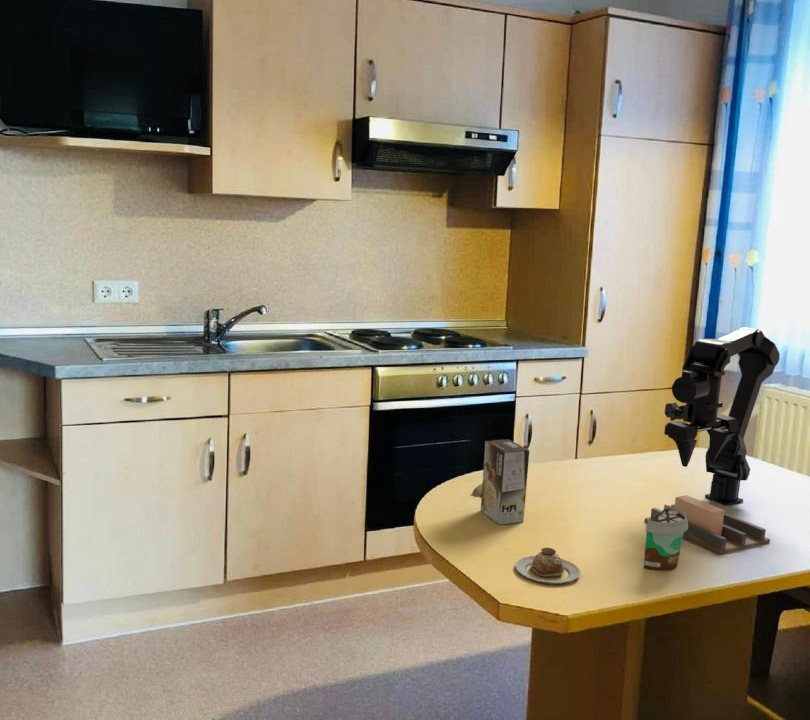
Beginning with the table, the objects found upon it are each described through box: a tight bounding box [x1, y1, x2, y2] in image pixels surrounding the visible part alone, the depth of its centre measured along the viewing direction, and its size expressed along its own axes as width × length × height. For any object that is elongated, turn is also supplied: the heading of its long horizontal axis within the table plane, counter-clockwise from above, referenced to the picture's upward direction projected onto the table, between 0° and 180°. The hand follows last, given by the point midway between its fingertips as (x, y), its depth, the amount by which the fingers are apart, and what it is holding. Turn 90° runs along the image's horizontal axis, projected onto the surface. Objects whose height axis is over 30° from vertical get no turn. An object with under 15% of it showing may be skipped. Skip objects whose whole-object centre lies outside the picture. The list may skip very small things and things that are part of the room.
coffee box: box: [480, 439, 530, 525], centre depth 190 cm, size 9×6×16 cm
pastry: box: [514, 547, 581, 586], centre depth 164 cm, size 12×12×5 cm
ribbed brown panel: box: [644, 503, 771, 556], centre depth 189 cm, size 16×20×3 cm
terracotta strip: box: [674, 494, 725, 536], centre depth 187 cm, size 4×10×6 cm, turn 31°
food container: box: [643, 504, 688, 572], centre depth 170 cm, size 12×6×10 cm, turn 148°
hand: (698, 463), depth 199 cm, fingers open, 9 cm apart
